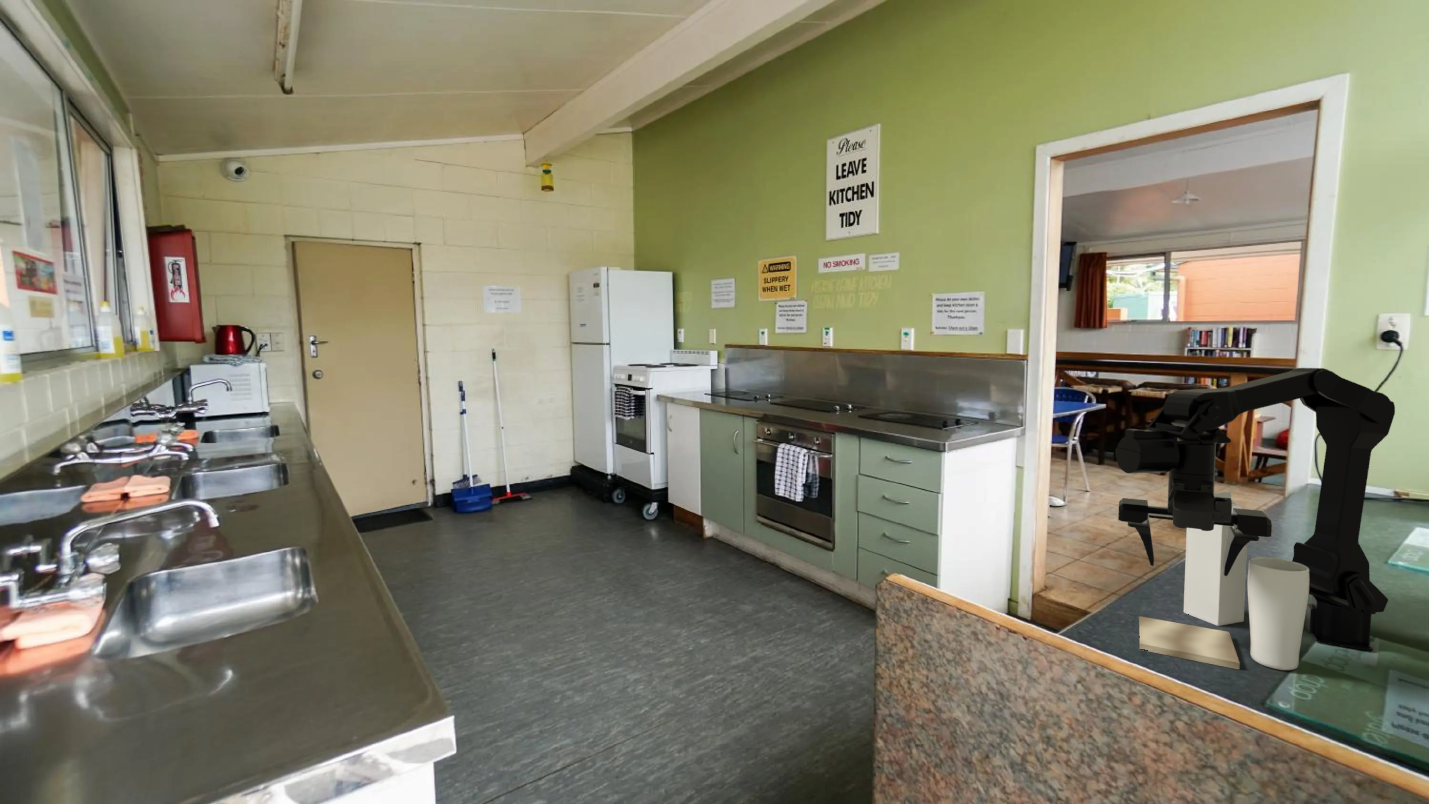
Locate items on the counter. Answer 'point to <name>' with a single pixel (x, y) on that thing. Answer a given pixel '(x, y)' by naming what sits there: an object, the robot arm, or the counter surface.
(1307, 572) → the drinking glass
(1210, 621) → the milk
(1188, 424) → the robot arm
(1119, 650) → the counter surface
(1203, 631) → the birch board
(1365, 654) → the counter surface
